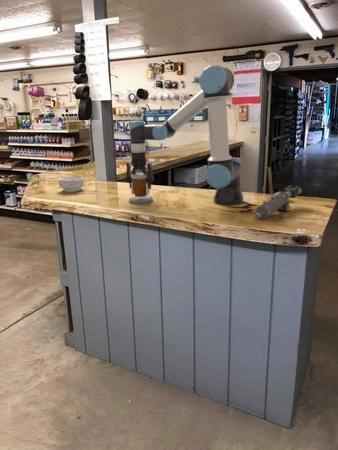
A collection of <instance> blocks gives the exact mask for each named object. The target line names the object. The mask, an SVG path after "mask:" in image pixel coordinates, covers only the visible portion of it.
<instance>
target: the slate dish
mask: <svg viewBox="0 0 338 450" xmlns="http://www.w3.org/2000/svg"><path fill="white" fill-rule="evenodd" d="M153 201H154V198H153V197H152V196H149V195H146V196H144V197H136V196H133V197H130V198H129V199H128V202H129V203H130V204H132V205H133V204H134V205H142V204H143V205H144V204H151V203H152V202H153Z"/></svg>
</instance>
